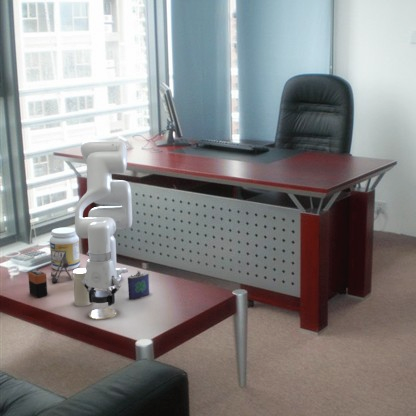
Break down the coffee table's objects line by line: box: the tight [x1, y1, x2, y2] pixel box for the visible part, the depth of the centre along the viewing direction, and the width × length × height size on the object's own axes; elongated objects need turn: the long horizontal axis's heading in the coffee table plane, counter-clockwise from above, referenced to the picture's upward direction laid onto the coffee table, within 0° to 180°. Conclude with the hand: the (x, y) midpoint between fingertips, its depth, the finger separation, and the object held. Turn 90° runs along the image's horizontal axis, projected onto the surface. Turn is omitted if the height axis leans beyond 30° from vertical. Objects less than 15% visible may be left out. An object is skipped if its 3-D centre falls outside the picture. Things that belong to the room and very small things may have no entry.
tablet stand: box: [50, 257, 73, 284], centre depth 281 cm, size 9×8×8 cm
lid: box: [91, 290, 109, 304], centre depth 244 cm, size 7×7×2 cm
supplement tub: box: [49, 226, 81, 271], centre depth 296 cm, size 12×12×17 cm
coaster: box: [87, 307, 118, 321], centre depth 246 cm, size 10×10×1 cm
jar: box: [72, 267, 92, 307], centre depth 255 cm, size 6×6×13 cm
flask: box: [127, 270, 150, 301], centre depth 263 cm, size 9×3×11 cm, turn 138°
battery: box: [27, 268, 48, 299], centre depth 263 cm, size 4×7×10 cm, turn 47°
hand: (102, 302), depth 245 cm, fingers closed on lid, 7 cm apart
